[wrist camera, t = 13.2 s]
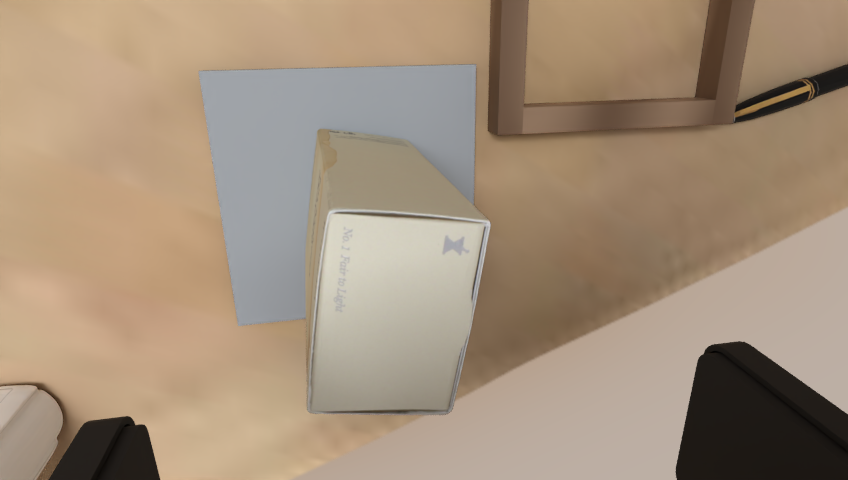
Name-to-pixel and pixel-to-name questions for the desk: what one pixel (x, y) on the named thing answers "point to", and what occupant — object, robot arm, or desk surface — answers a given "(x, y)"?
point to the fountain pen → (791, 94)
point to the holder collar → (706, 108)
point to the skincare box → (387, 278)
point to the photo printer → (27, 431)
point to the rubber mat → (294, 157)
